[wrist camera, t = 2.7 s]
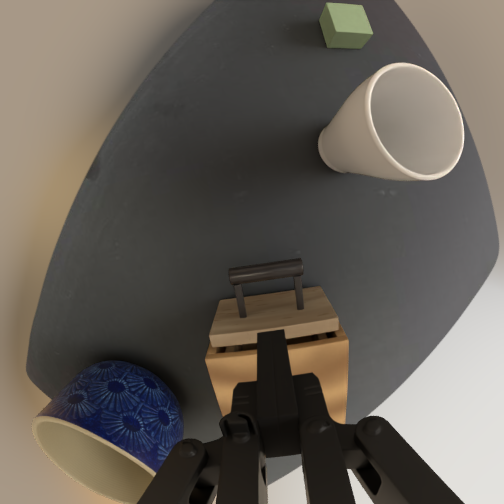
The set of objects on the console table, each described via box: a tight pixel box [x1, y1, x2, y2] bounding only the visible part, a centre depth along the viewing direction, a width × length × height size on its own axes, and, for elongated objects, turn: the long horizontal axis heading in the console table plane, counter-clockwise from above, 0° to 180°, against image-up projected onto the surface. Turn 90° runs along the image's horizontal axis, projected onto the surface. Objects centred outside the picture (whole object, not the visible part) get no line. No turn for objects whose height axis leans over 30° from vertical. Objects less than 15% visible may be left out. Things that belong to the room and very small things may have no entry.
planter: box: [32, 360, 184, 504], centre depth 26 cm, size 17×17×15 cm
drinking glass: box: [318, 63, 464, 181], centre depth 19 cm, size 7×7×15 cm
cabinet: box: [205, 321, 349, 457], centre depth 27 cm, size 15×12×9 cm
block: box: [319, 3, 373, 49], centre depth 21 cm, size 4×4×4 cm
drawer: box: [209, 258, 339, 353], centre depth 26 cm, size 18×10×7 cm, turn 9°
